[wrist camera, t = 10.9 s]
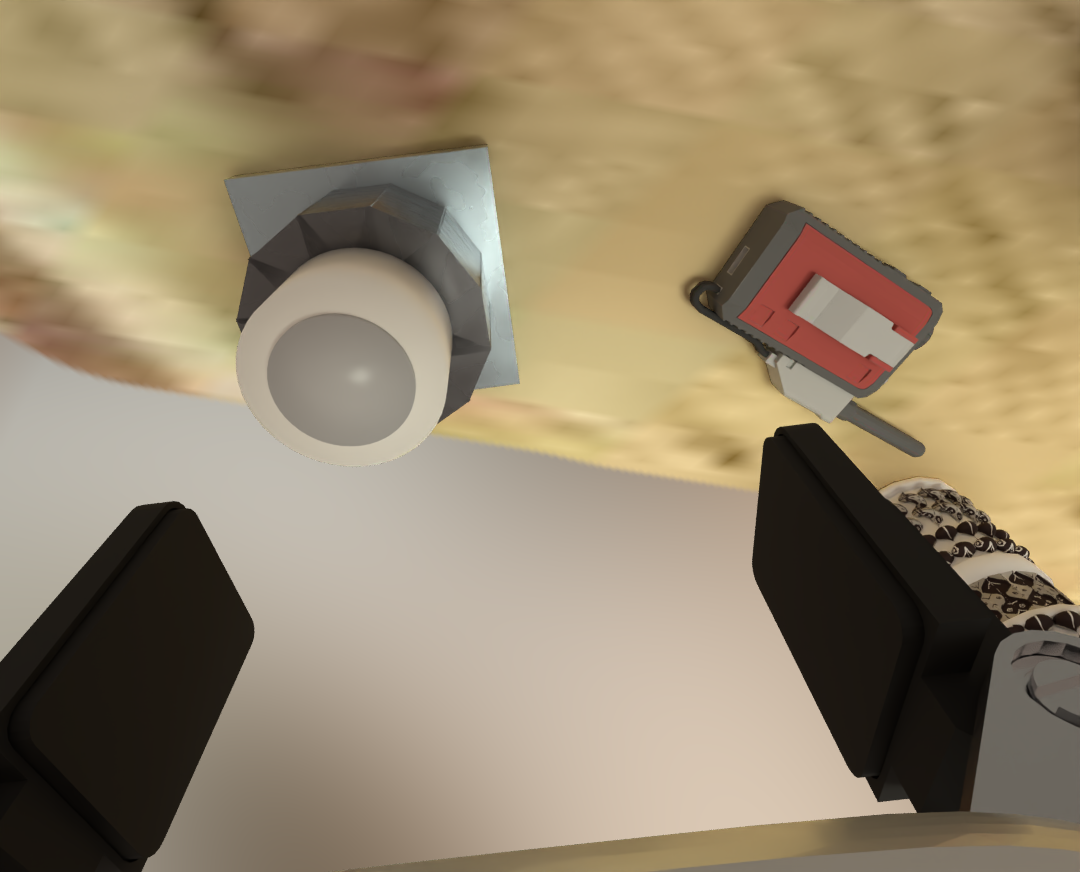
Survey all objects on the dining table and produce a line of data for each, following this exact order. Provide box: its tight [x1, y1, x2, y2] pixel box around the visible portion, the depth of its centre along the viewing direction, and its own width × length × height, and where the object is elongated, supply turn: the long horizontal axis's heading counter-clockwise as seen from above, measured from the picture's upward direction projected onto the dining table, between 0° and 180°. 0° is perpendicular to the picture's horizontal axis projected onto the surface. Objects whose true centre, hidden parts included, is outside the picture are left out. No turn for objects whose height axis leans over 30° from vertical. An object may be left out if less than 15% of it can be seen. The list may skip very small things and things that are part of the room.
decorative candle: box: [879, 477, 1080, 638], centre depth 32 cm, size 9×9×25 cm
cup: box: [236, 248, 453, 467], centre depth 24 cm, size 7×7×8 cm
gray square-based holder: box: [224, 144, 520, 424], centre depth 28 cm, size 12×12×8 cm
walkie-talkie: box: [690, 200, 943, 457], centre depth 33 cm, size 9×4×20 cm
